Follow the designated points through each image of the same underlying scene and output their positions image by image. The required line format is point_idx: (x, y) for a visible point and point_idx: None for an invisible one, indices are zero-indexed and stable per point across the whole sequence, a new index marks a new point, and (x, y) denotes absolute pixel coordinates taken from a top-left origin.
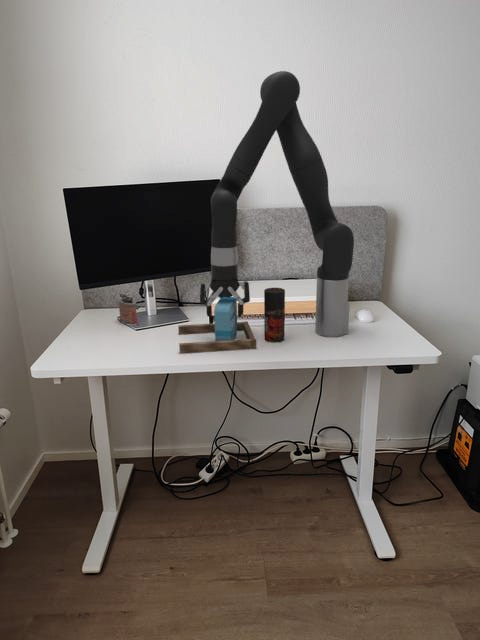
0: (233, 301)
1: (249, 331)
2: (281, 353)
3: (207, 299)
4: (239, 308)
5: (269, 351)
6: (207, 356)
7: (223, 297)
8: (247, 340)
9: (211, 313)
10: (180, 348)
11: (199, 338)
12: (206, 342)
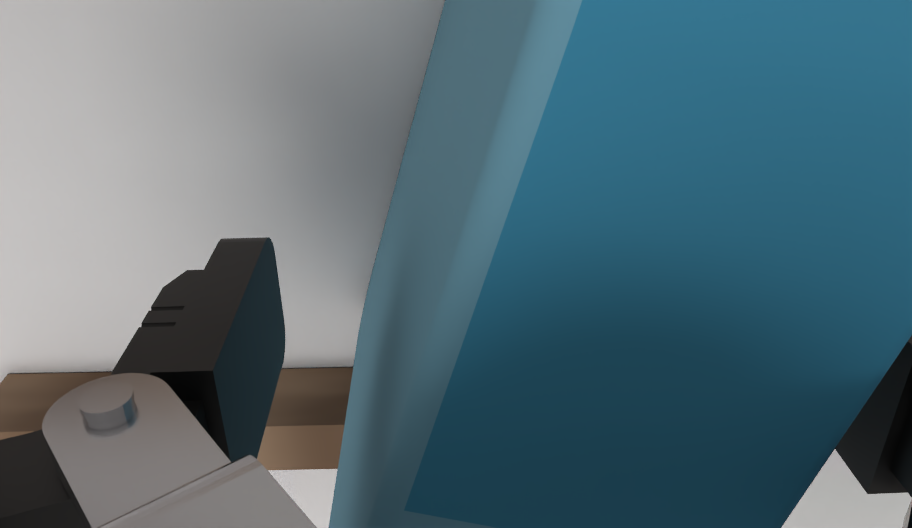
0: (805, 490)
1: None
2: (904, 506)
3: (61, 470)
4: (841, 442)
5: (831, 462)
6: (289, 489)
7: (622, 123)
8: None
9: (264, 405)
10: None
11: (159, 19)
12: (260, 447)
